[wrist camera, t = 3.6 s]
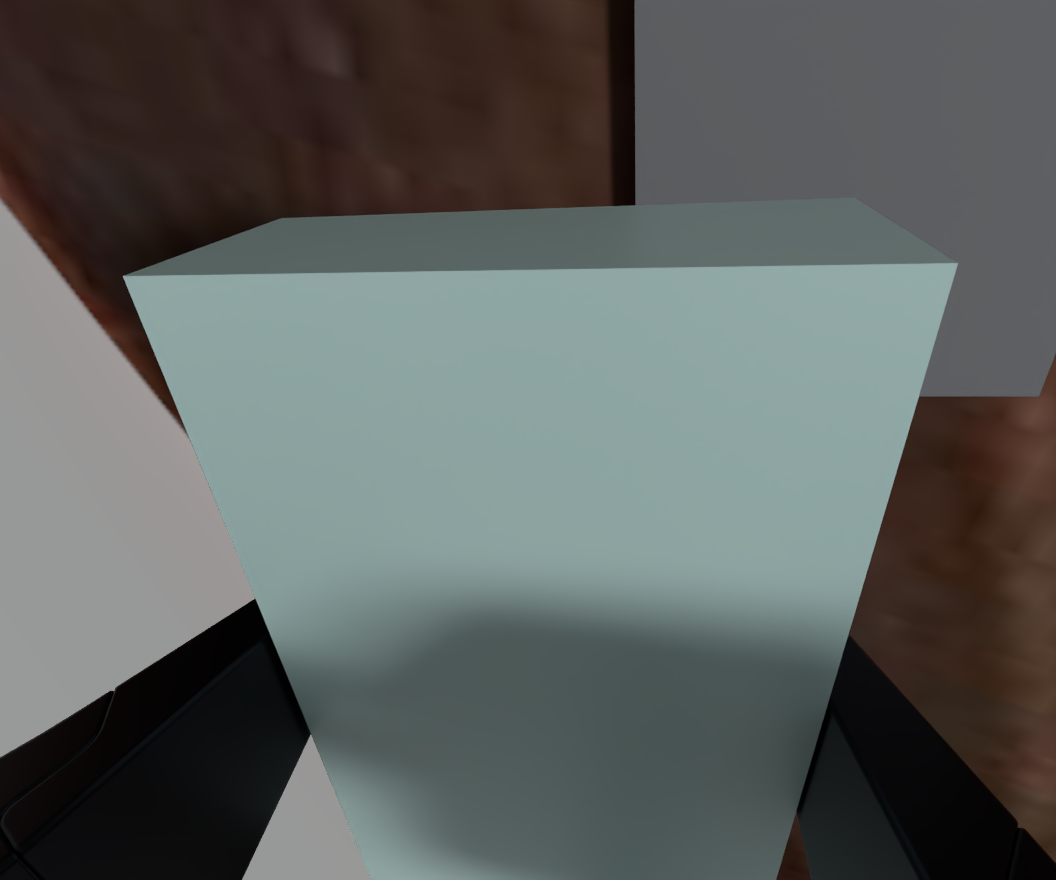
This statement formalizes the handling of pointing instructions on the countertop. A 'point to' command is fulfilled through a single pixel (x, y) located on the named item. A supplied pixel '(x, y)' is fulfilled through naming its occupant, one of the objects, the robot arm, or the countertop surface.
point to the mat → (877, 143)
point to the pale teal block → (556, 508)
